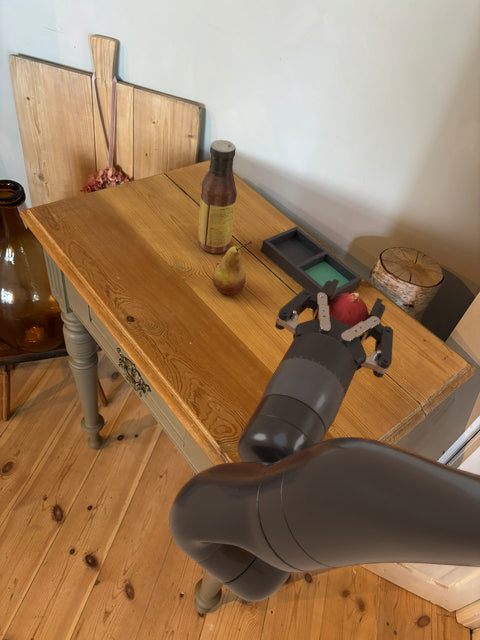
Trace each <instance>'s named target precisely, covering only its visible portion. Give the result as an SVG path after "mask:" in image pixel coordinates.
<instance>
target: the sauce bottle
mask: <svg viewBox="0 0 480 640" xmlns="http://www.w3.org/2000/svg"><path fill="white" fill-rule="evenodd" d="M236 148H237V147H236V145H235V144H234V143H233V142H231V141H229V140H225V139H224V140H223V139H219V140H214V141H212V142H211V143H210V146H209V153H210V161H209V162H210V164H209V169H208V171H207V173H206V174H205V175H204V177H203V179H202V182H201V193H200V200H199V213H198V214H199V215H198V232H197V233H198V235H197V238H198V245H199V247H200V248H201V249H202V250H203V251H205V252H206V253H209V254H215V255H216V254H223V253H226V252H227V251H228V250H229V249H230V246H231V245H230V244H231V242H232V237H233V230H234V229H233V228H234V223H235V222H234V221H235V214H236V213H235V212H236V206H237V197H238V196H237V195H238V191H237V186H236V181H235V176H234V168H233V166H234V158H235V156H236Z"/></svg>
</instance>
